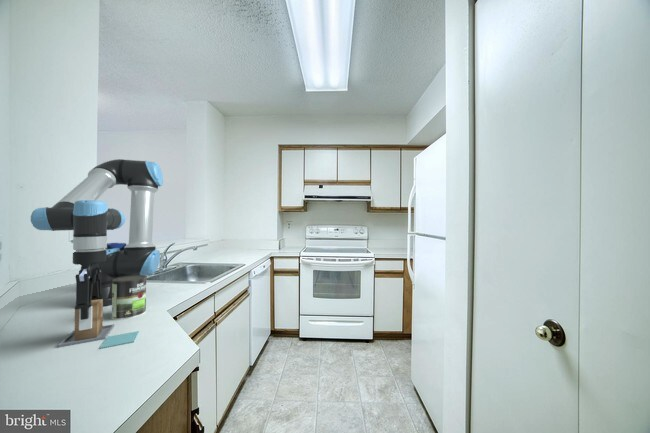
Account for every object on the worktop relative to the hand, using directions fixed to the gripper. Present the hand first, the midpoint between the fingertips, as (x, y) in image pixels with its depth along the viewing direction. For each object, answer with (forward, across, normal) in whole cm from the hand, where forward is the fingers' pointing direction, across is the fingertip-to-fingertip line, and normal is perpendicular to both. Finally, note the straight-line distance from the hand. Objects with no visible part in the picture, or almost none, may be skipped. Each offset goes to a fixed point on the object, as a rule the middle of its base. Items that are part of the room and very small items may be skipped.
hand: (89, 325), depth 74 cm
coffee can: (+4, -16, +7) cm, 18 cm away
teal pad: (+3, +8, +9) cm, 13 cm away
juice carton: (+4, -66, -8) cm, 66 cm away
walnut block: (+3, 0, 0) cm, 3 cm away
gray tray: (+3, 0, 0) cm, 3 cm away
